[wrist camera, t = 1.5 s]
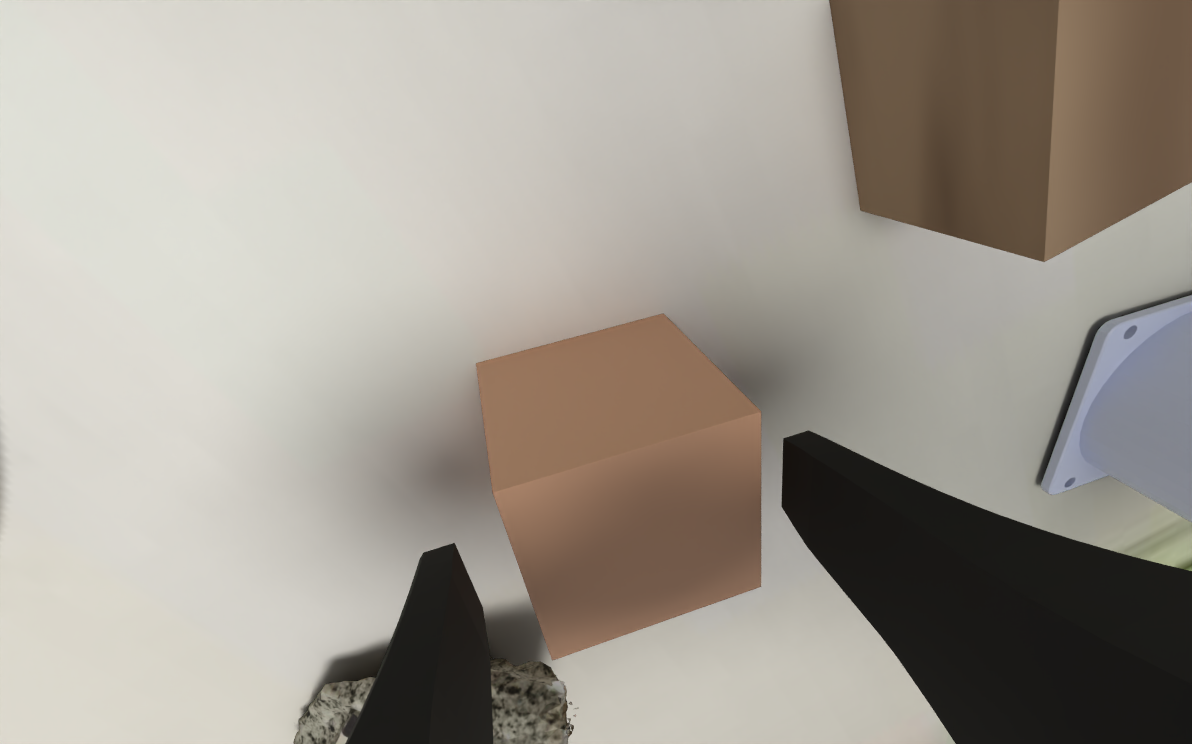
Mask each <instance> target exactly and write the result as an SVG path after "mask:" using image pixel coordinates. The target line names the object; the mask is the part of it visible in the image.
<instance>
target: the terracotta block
mask: <svg viewBox="0 0 1192 744" xmlns="http://www.w3.org/2000/svg"><path fill="white" fill-rule="evenodd" d="M476 367H477V375H478V382H479V390H480V398H481V406H482V414H483V421H484V429H485V437H486V445H487V453H488V460H489V468H490V476H491V484H492V492H493V495H494V498H495V501H496V504H497V506H498V509H499V512H500V515H501V518H502V520H503V523H504V526H505V529H506V532H507V535H508V537H509V540H510V543H511V546H512V549H513V551H514V554H515V557H516V560H517V563H518V565H519V568H520V571H521V574H522V577H523V579H524V582H525V585H526V588H527V591H528V594H529V596H530V599H531V602H532V605H533V608H534V610H535V613H536V616H537V619H538V622H539V624H540V627H541V630H542V633H543V636H544V638H545V641H546V644H547V647H548V650H549V653H550V655H551V658H552V660H555V659H558V658H561V657H564V656H566V655H569V654H572V653H575V652H578V651H581V650H583V649H586V648H589V647H592V646H595V645H598V644H600V643H603V642H606V641H609V640H612V639H614V638H617V637H620V636H623V635H626V634H629V633H631V632H634V631H637V630H640V629H643V628H646V627H648V626H651V625H654V624H657V623H660V622H663V621H665V620H668V619H671V618H674V617H677V616H679V615H682V614H685V613H688V612H691V611H694V610H696V609H699V608H702V607H705V606H708V605H711V604H713V603H716V602H719V601H722V600H725V599H727V598H730V597H733V596H736V595H739V594H742V593H744V592H747V591H750V590H753V589H756V588H759V587H761V411H760V410H759V409H758V408H757V407H756V406H755V405H754V404H753V403H752V402H751V401H750V400H749V399H748V398H747V397H746V396H745V395H744V394H743V393H742V392H741V391H740V390H739V389H738V388H737V387H736V386H735V385H734V384H733V383H732V382H731V381H730V380H729V379H728V378H727V377H726V376H725V375H724V374H723V373H722V372H721V371H720V370H719V369H718V368H717V367H716V366H715V365H714V364H713V363H712V362H711V361H710V360H709V359H708V358H707V357H706V356H705V355H704V354H703V353H702V352H701V351H700V350H699V349H698V348H697V347H696V346H695V345H694V344H693V343H692V342H691V341H690V340H689V339H688V338H687V337H686V336H685V335H684V334H683V333H682V332H681V331H680V330H679V329H678V328H677V327H676V326H675V325H674V324H673V323H672V322H671V321H670V320H669V319H668V318H667V317H666V316H665V315H664V314H660V315H656V316H652V317H648V318H645V319H641V320H637V321H633V322H630V323H626V324H622V325H618V326H615V327H611V328H607V329H603V330H600V331H596V332H592V333H588V334H584V335H581V336H577V337H573V338H569V339H566V340H562V341H558V342H554V343H551V344H547V345H543V346H539V347H535V348H532V349H528V350H524V351H520V352H517V353H513V354H509V355H505V356H502V357H498V358H494V359H490V360H487V361H483V362H479V363H476Z"/></svg>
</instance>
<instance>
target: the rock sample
mask: <svg viewBox="0 0 1192 744" xmlns="http://www.w3.org/2000/svg"><path fill="white" fill-rule="evenodd" d="M490 665H491V689H492V716H493V744H568V737H569V736H570V735H571V734H572V731H573V729H574V726H573V725H571V724H570V721H571V719H569V718H567V717H566V711H567V708H568V705H567V701H566V693H567V690H566V686H565V685H564V682H562V681H559V680H558V679H557V677H556V675H555V674H554V673H553V671H552V669H551V667H549V666H547V665H546V664H544V663H542V662H532V661H528V662H527V663H525V664H522V665H519V666H517V667H516V666H514V665H512V664H511V663H509V662H508V661H507V660H506V659H491V660H490ZM374 681H375V678H374V677H368V678H365V679H362V680H359V681H342V682H338V683H330V684H325V686H324V687H323V689H322V690H321V691H320V692H319V693H318V695H317V698H316V699H314V700H315V701H314V702H312V703H311V704H310V706H309V708H308V711H307V712H306V713H305V714H304V715H303V716H302V717H301V718H300V719H299V731H298V732H297V734H296V736H295V739H294V744H345V743H346V741H347V739H348V737H349V735H350V733H351V731H352V729H353V727H354V725H355V723H356V720H357V718H358V716H359V714H360V712H361V709H362V707H363V705H364V703H365V700H366V698H367V696H368V694H369V692H370V689H371V687H372V685H373V683H374ZM569 704H571V705H572V703H571V702H570V703H569ZM575 709H578V708H575ZM574 717H576V714H575V715H574ZM567 719H568V720H569V723H567ZM569 724H570V726H571V729H572V731H570V726H569ZM566 734H567V735H566Z"/></svg>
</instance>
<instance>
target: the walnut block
mask: <svg viewBox="0 0 1192 744" xmlns="http://www.w3.org/2000/svg"><path fill="white" fill-rule="evenodd" d="M829 1H830V8H831V15H832V21H833V28H834V35H835V42H836V48H837V55H838V62H839V69H840V76H841V82H842V89H843V96H844V103H845V109H846V116H847V123H848V130H849V136H850V143H851V150H852V157H853V163H854V170H855V177H856V184H857V190H858V197H859V204H860V210H861V211H864V212H868V213H871V214H875V215H878V216H882V217H885V218H889V219H893V220H896V221H900V222H903V223H907V224H910V225H914V226H918V227H921V228H925V229H928V230H932V231H935V232H939V233H943V234H946V235H950V236H953V237H957V238H960V239H964V240H968V241H971V242H975V243H978V244H982V245H985V246H989V247H993V248H996V249H1000V250H1003V251H1007V252H1010V253H1014V254H1018V255H1021V256H1025V257H1028V258H1032V259H1035V260H1039V261H1043V262H1045V261H1047V260H1049V259H1051V258H1053V257H1054V256H1056V255H1058V254H1060V253H1062V252H1064V251H1066V250H1067V249H1069V248H1071V247H1073V246H1075V245H1077V244H1078V243H1080V242H1082V241H1084V240H1086V239H1088V238H1089V237H1091V236H1093V235H1095V234H1097V233H1099V232H1101V231H1102V230H1104V229H1106V228H1108V227H1110V226H1112V225H1113V224H1115V223H1117V222H1119V221H1121V220H1123V219H1124V218H1126V217H1128V216H1130V215H1132V214H1134V213H1136V212H1137V211H1139V210H1141V209H1143V208H1145V207H1147V206H1148V205H1150V204H1152V203H1154V202H1156V201H1158V200H1160V199H1161V198H1163V197H1165V196H1167V195H1169V194H1171V193H1172V192H1174V191H1176V190H1178V189H1180V188H1182V187H1183V186H1185V185H1187V184H1189V183H1191V182H1192V0H829Z"/></svg>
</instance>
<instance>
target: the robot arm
mask: <svg viewBox="0 0 1192 744" xmlns="http://www.w3.org/2000/svg"><path fill="white" fill-rule="evenodd" d="M1109 475H1110V476H1111V477H1113V478H1115V479H1117V480H1118V481H1120V482H1122V483H1124V484H1125V485H1127V486H1129V487H1131V488H1132V489H1134V490H1136V491H1138V492H1139V493H1141V494H1143V495H1145V496H1146V497H1148V498H1150V499H1152V500H1153V501H1155V502H1157V503H1158V504H1160V505H1162V506H1164V507H1165V508H1167V509H1169V510H1171V511H1172V512H1174V513H1176V514H1178V515H1179V516H1181V517H1183V518H1185V519H1186V520H1188V521H1190V522H1192V295H1190V296H1187V297H1183V298H1180V299H1177V300H1174V301H1170V302H1167V303H1164V304H1161V305H1157V306H1154V307H1151V308H1148V309H1144V310H1141V311H1138V312H1135V313H1131V314H1128V315H1125V316H1122V317H1118V318H1115V319H1112V320H1109V321H1107V322H1106V323H1104V324H1103V325H1102V326H1101V327H1100V328H1099V330H1098V331H1097V333H1096V335H1095V338H1094V340H1093V343H1092V346H1091V349H1090V351H1089V354H1088V357H1087V360H1086V362H1085V365H1084V368H1083V371H1082V373H1081V376H1080V379H1079V382H1078V384H1077V387H1076V390H1075V393H1074V395H1073V398H1072V401H1071V403H1070V406H1069V409H1068V412H1067V414H1066V417H1065V420H1064V423H1063V425H1062V428H1061V431H1060V434H1059V436H1058V439H1057V442H1056V445H1055V447H1054V450H1053V453H1052V456H1051V458H1050V461H1049V464H1048V467H1047V469H1046V472H1045V475H1044V477H1043V480H1042V483H1041V488H1042V490H1044V491H1045V492H1047V493H1048V494H1051V495H1055V494H1059V493H1061V492H1064V491H1067V490H1070V489H1072V488H1075V487H1078V486H1081V485H1084V484H1086V483H1089V482H1092V481H1095V480H1097V479H1100V478H1103V477H1106V476H1109ZM782 508H783V510H784V511H785V513H786V514H787V516H788V518H789V519H790V521H791V522H792V524H793V526H794V527H795V529H796V530H797V532H798V533H799V535H800V536H801V538H802V540H803V541H804V543H805V544H806V546H807V547H808V548H809V550H810V551H811V552H812V553H813V555H814V556H815V557H816V558H817V559H818V561H819V562H820V563H821V564H822V566H823V567H824V568H825V569H826V570H827V572H828V573H829V574H830V575H831V577H832V578H833V579H834V580H835V581H836V583H837V584H838V585H839V586H840V587H841V589H842V590H843V591H844V592H845V593H846V595H847V596H848V597H849V598H850V599H851V601H852V602H853V603H854V604H855V605H856V607H857V608H858V609H859V610H860V611H861V613H862V614H863V615H864V616H865V617H866V619H867V620H868V621H869V622H870V623H871V625H872V626H873V627H874V628H875V629H876V631H877V632H878V633H879V634H880V635H881V637H882V638H883V639H884V641H885V642H886V643H887V645H888V646H889V647H890V648H891V650H892V651H893V652H894V654H895V655H896V656H897V658H898V659H899V660H900V662H901V663H902V665H903V666H904V668H905V669H906V671H907V672H908V673H909V675H910V676H911V678H912V679H913V681H914V682H915V684H916V685H917V686H918V688H919V689H920V691H921V692H922V694H923V695H924V697H925V698H926V700H927V701H928V702H929V704H930V705H931V707H932V708H933V710H934V711H935V713H936V714H937V716H938V718H939V719H940V721H941V722H942V724H943V725H944V727H945V728H946V730H947V731H948V733H949V734H950V736H951V737H952V739H953V740H954V742H955V743H956V744H1192V571H1188V570H1184V569H1180V568H1176V567H1171V566H1167V565H1163V564H1159V563H1155V562H1151V561H1147V560H1144V559H1140V558H1136V557H1132V556H1128V555H1124V554H1121V553H1117V552H1114V551H1110V550H1107V549H1103V548H1100V547H1097V546H1093V545H1090V544H1086V543H1083V542H1079V541H1076V540H1072V539H1069V538H1066V537H1063V536H1060V535H1056V534H1053V533H1050V532H1047V531H1044V530H1041V529H1038V528H1035V527H1032V526H1030V525H1027V524H1024V523H1021V522H1018V521H1015V520H1012V519H1009V518H1006V517H1004V516H1001V515H998V514H995V513H993V512H990V511H987V510H985V509H982V508H979V507H977V506H974V505H972V504H970V503H967V502H965V501H962V500H960V499H957V498H955V497H952V496H950V495H948V494H945V493H943V492H940V491H938V490H936V489H933V488H931V487H929V486H926V485H924V484H922V483H920V482H917V481H915V480H913V479H911V478H908V477H906V476H904V475H902V474H900V473H898V472H895V471H893V470H891V469H889V468H887V467H885V466H883V465H880V464H878V463H876V462H874V461H872V460H870V459H868V458H866V457H864V456H862V455H860V454H857V453H855V452H853V451H851V450H849V449H847V448H845V447H843V446H841V445H839V444H837V443H835V442H833V441H830V440H828V439H826V438H824V437H822V436H820V435H818V434H815V433H813V432H811V431H806V432H803V433H799V434H796V435H793V436H790V437H787V438H784V439H783V474H782ZM345 744H493V716H492V689H491V665H490V654H489V647H488V639H487V632H486V626H485V619H484V613H483V607H482V605H481V602H480V600H479V598H478V596H477V593H476V591H475V589H474V586H473V584H472V582H471V580H470V577H469V575H468V573H467V570H466V568H465V566H464V564H463V561H462V559H461V557H460V554H459V552H458V550H457V548H456V545H455V543H453V544H450V545H447V546H443V547H440V548H437V549H434V550H431V551H428V552H425V553H423V555H422V556H421V558H420V560H419V563H418V566H417V569H416V573H415V576H414V579H413V582H412V585H411V588H410V591H409V594H408V596H407V599H406V602H405V605H404V608H403V610H402V613H401V616H400V619H399V621H398V624H397V627H396V629H395V632H394V634H393V637H392V639H391V642H390V644H389V647H388V649H387V652H386V654H385V657H384V659H383V662H382V664H381V667H380V669H379V671H378V674H377V676H376V678H375V681H374V683H373V685H372V687H371V689H370V692H369V694H368V696H367V698H366V700H365V703H364V705H363V707H362V709H361V712H360V714H359V716H358V718H357V720H356V723H355V725H354V727H353V729H352V731H351V733H350V735H349V737H348V739H347V741H346V743H345Z"/></svg>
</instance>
